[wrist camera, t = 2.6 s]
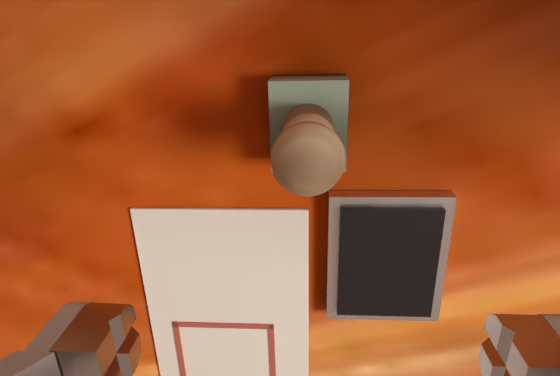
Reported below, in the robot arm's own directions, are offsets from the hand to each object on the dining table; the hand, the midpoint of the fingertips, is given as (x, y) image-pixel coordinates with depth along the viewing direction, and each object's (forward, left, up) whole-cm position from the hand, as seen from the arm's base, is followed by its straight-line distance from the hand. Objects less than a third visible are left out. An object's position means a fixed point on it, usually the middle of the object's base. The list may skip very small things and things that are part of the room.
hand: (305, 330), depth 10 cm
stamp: (0, 0, -21) cm, 21 cm away
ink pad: (+11, +6, -21) cm, 25 cm away
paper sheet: (+18, -7, -21) cm, 29 cm away
